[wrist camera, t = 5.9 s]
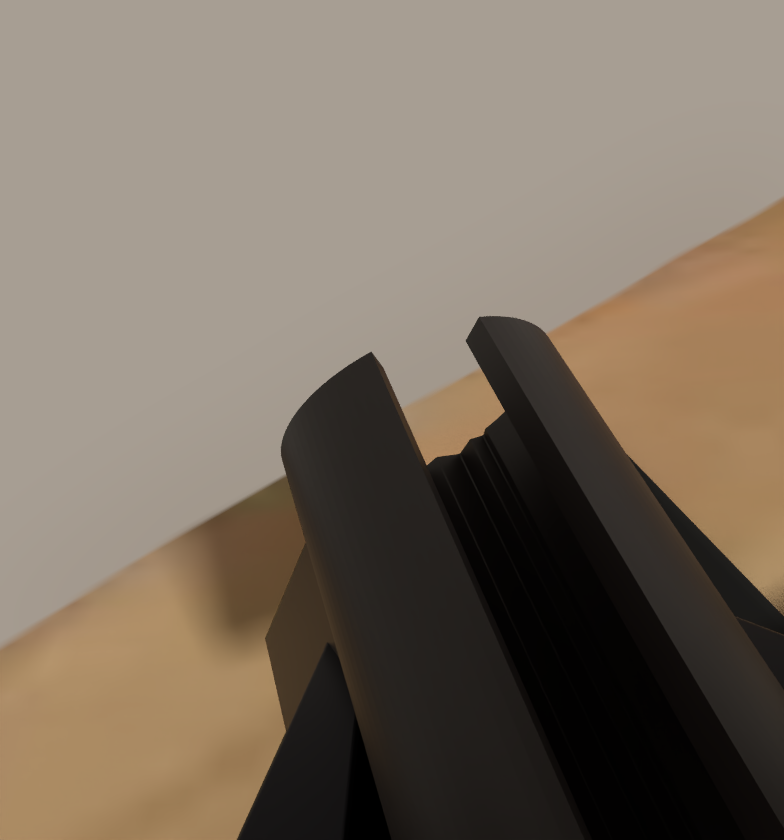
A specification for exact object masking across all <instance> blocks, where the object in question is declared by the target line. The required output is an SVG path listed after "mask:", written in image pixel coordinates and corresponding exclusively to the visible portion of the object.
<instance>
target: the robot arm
mask: <svg viewBox="0 0 784 840" xmlns="http://www.w3.org/2000/svg"><path fill="white" fill-rule="evenodd" d="M735 618H736V619H737V621H738V622H739V624H740V625H741V627H742V628H743V630H744V631H745V633H746V634H747V636H748V637H749V639H750V640H751V642H752V643H753V645H754V646H755V648H756V649H757V651H758V652H759V654H760V655H761V656H762V658H763V659H764V661H765V662H766V664H767V665H768V667H769V668H770V670H771V671H772V673H773V674H774V676H775V677H776V679H777V680H778V682H779V683H780V685H781V686H782V688H783V689H784V635H783V634H780V633H777V632H775V631H772V630H770V629H767V628H764V627H762V626H759V625H756V624H754V623H751V622H749V621H746V620H743V619H741V618H738V617H735ZM237 840H391V836H390V833H389V829H388V826H387V822H386V819H385V815H384V812H383V808H382V805H381V801H380V798H379V794H378V791H377V787H376V784H375V780H374V777H373V774H372V770H371V767H370V763H369V760H368V756H367V753H366V749H365V746H364V742H363V739H362V735H361V732H360V728H359V725H358V721H357V718H356V714H355V711H354V708H353V704H352V701H351V697H350V694H349V690H348V687H347V683H346V680H345V676H344V673H343V669H342V666H341V662H340V659H339V657H338V656H337V654H336V653H335V651H334V650H333V649H332V647H331V646H330V645H329V643H328V642H327V643H326V645H325V647H324V649H323V652H322V654H321V656H320V658H319V660H318V663H317V665H316V667H315V669H314V671H313V674H312V676H311V678H310V680H309V682H308V685H307V687H306V689H305V691H304V693H303V696H302V698H301V700H300V702H299V704H298V707H297V709H296V711H295V713H294V715H293V717H292V720H291V722H290V724H289V726H288V728H287V731H286V733H285V735H284V737H283V739H282V742H281V744H280V746H279V748H278V750H277V753H276V755H275V757H274V759H273V761H272V764H271V766H270V768H269V770H268V772H267V775H266V777H265V779H264V781H263V783H262V786H261V788H260V790H259V792H258V794H257V797H256V799H255V801H254V803H253V805H252V807H251V810H250V812H249V814H248V816H247V818H246V821H245V823H244V825H243V827H242V829H241V832H240V834H239V836H238V838H237Z"/></svg>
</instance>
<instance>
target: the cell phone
mask: <svg viewBox="0 0 784 840" xmlns="http://www.w3.org/2000/svg"><path fill="white" fill-rule="evenodd" d="M627 456H628V455H627ZM628 457H629V456H628ZM629 459H630V460H631V462H632V463H633V465H634V466H635V468H636V469H637V471H638V472H639V474H640V475H641V477H642V478H643V480H644V481H645V483H646V484H647V486H648V487H649V489H650V490H651V492H652V493H653V495H654V496H655V498H656V499H657V501H658V502H659V504H660V505H661V507H662V508H663V510H664V511H665V513H666V514H667V516H668V517H669V519H670V520H671V522H672V523H673V525H674V526H675V528H676V529H677V531H678V532H679V534H680V535H681V537H682V538H683V540H684V541H685V543H686V544H687V546H688V547H689V549H690V550H691V552H692V553H693V555H694V556H695V558H696V559H697V561H698V562H699V564H700V565H701V567H702V568H703V570H704V571H705V573H706V574H707V576H708V577H709V579H710V580H711V582H712V583H713V585H714V586H715V588H716V589H717V591H718V592H719V594H720V595H721V597H722V598H723V600H724V601H725V603H726V604H727V606H728V607H729V609H730V610H731V612H732V613H733V615H734V616H735V617H738V618H741V619H743V620H746V621H749V622H751V623H754V624H756V625H759V626H762V627H764V628H767V629H770V630H772V631H775V632H777V633H780V634H783V635H784V616H783V615H782V614H781V613H780V612H779V611H778V610H777V609H776V608H775V607H774V606H773V605H772V604H771V603H770V602H769V601H768V600H767V599H766V598H765V597H764V596H763V595H762V594H761V592H760V591H759V590H758V589H757V588H756V587H755V586H754V585H753V584H752V583H751V582H750V581H749V580H748V579H747V578H746V577H745V576H744V575H743V574H742V573H741V572H740V571H739V570H738V569H737V568H736V567H735V566H734V565H733V564H732V563H731V561H730V560H729V559H728V558H727V557H726V556H725V555H724V554H723V553H722V552H721V551H720V550H719V549H718V548H717V547H716V546H715V545H714V544H713V543H712V542H711V541H710V540H709V539H708V538H707V537H706V536H705V535H704V534H703V533H702V532H701V530H700V529H699V528H698V527H697V526H696V525H695V524H694V523H693V522H692V521H691V520H690V519H689V518H688V517H687V516H686V515H685V514H684V513H683V512H682V511H681V510H680V509H679V508H678V507H677V506H676V505H675V504H674V503H673V502H672V501H671V500H670V498H669V497H668V496H667V495H666V494H665V493H664V492H663V491H662V490H661V489H660V488H659V487H658V486H657V485H656V484H655V483H654V482H653V481H652V480H651V479H650V478H649V477H648V476H647V475H646V474H645V473H644V472H643V471H642V470H641V469H640V467H639V466H638V465H637V464H636V463H635V462H634V461H633V460H632V459H631V458H630V457H629Z"/></svg>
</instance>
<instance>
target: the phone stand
mask: <svg viewBox="0 0 784 840" xmlns="http://www.w3.org/2000/svg"><path fill="white" fill-rule="evenodd" d="M466 342H467V344H468V346H469V348H470V349H471V351H472V353H473V355H474V357H475V358H476V360H477V362H478V364H479V366H480V367H481V369H482V371H483V373H484V374H485V376H486V378H487V380H488V382H489V383H490V385H491V387H492V389H493V390H494V392H495V394H496V396H497V398H498V399H499V401H500V403H501V405H502V407H503V408H504V410H505V412H504V413H503V414H502V415H501V416H500V417H499V418H498V419H497V420H495V421H494V422H493V423H492V424H491V425H489V426H488V427H487V428H486V429H485V432H484V435H483V436H480V437H476V438H473V439H470V440H469V442H468V443H467V445H466V446H465V447H464V449H463V450H462V452H461V453H460V454H457V455H449V456H442V457H437V458H435V459H434V460H433V461H432V462H431V463H429V464H428V465H426V463H425V461H424V459H423V456H422V454H421V452H420V450H419V447H418V445H417V443H416V441H415V438H414V436H413V434H412V431H411V429H410V427H409V425H408V422H407V420H406V418H405V416H404V413H403V411H402V409H401V407H400V404H399V402H398V400H397V398H396V396H395V393H394V391H393V389H392V386H391V384H390V382H389V380H388V377H387V375H386V373H385V371H384V368H383V367H382V365H381V364H380V363H379V361H378V360H377V359H376V357H375V356H374V355H373V353H372V352H370V353H368V354H366V355H365V356H363V357H361V358H360V359H358V360H356V361H355V362H353V363H352V364H350V365H348V366H347V367H346V368H344V369H343V370H341V371H340V372H338V373H337V374H336V375H335V376H333V377H332V378H330V379H329V380H328V381H327V382H326V383H324V384H323V385H322V386H321V387H320V388H319V389H318V390H316V391H315V392H314V393H313V394H312V395H311V396H310V397H309V398H308V399H307V401H306V402H305V403H304V404H303V405H302V406H301V407H300V409H299V410H298V411H297V413H296V414H295V415H294V417H293V418H292V420H291V422H290V423H289V425H288V427H287V429H286V431H285V434H284V436H283V440H282V446H281V456H282V461H283V464H284V468H285V471H286V475H287V478H288V482H289V485H290V489H291V492H292V496H293V499H294V503H295V506H296V510H297V513H298V516H299V520H300V523H301V527H302V530H303V534H304V537H305V541H306V543H305V545H304V548H303V550H302V553H301V555H300V557H299V560H298V562H297V564H296V567H295V569H294V571H293V574H292V576H291V579H290V581H289V583H288V586H287V588H286V590H285V593H284V595H283V598H282V600H281V602H280V605H279V607H278V609H277V612H276V614H275V617H274V619H273V621H272V624H271V626H270V628H269V631H268V633H267V635H266V638H265V640H266V644H267V648H268V653H269V657H270V662H271V666H272V671H273V675H274V680H275V684H276V688H277V693H278V697H279V702H280V706H281V711H282V715H283V719H284V724H285V728H286V731H287V728H288V726H289V724H290V722H291V720H292V717H293V715H294V713H295V711H296V709H297V707H298V704H299V702H300V700H301V698H302V696H303V693H304V691H305V689H306V687H307V685H308V682H309V680H310V678H311V676H312V674H313V671H314V669H315V667H316V665H317V663H318V660H319V658H320V656H321V654H322V652H323V649H324V647H325V645H326V643H327V642H328V643H329V645H330V646H331V647H332V649H333V650H334V651H335V653H336V654H337V656H338V657H339V659H340V662H341V666H342V669H343V673H344V676H345V680H346V683H347V687H348V690H349V694H350V697H351V701H352V704H353V708H354V711H355V714H356V718H357V721H358V725H359V728H360V732H361V735H362V739H363V742H364V746H365V749H366V753H367V756H368V760H369V763H370V767H371V770H372V774H373V777H374V780H375V784H376V787H377V791H378V794H379V798H380V801H381V805H382V808H383V812H384V815H385V819H386V822H387V826H388V829H389V833H390V836H391V840H784V689H783V688H782V686H781V685H780V683H779V682H778V680H777V679H776V677H775V676H774V674H773V673H772V671H771V670H770V668H769V667H768V665H767V664H766V662H765V661H764V659H763V658H762V656H761V655H760V654H759V652H758V651H757V649H756V648H755V646H754V645H753V643H752V642H751V640H750V639H749V637H748V636H747V634H746V633H745V631H744V630H743V628H742V627H741V625H740V624H739V622H738V621H737V619H736V618H735V616H734V615H733V613H732V612H731V610H730V609H729V607H728V606H727V604H726V603H725V601H724V600H723V598H722V597H721V595H720V594H719V592H718V591H717V589H716V588H715V586H714V585H713V583H712V582H711V580H710V579H709V577H708V576H707V574H706V573H705V571H704V570H703V568H702V567H701V565H700V564H699V562H698V561H697V559H696V558H695V556H694V555H693V553H692V552H691V550H690V549H689V547H688V546H687V544H686V543H685V541H684V540H683V538H682V537H681V535H680V534H679V532H678V531H677V529H676V528H675V526H674V525H673V523H672V522H671V520H670V519H669V517H668V516H667V514H666V513H665V511H664V510H663V508H662V507H661V505H660V504H659V502H658V501H657V499H656V498H655V496H654V495H653V493H652V492H651V490H650V489H649V487H648V486H647V484H646V483H645V481H644V480H643V478H642V477H641V475H640V474H639V472H638V471H637V469H636V468H635V466H634V465H633V463H632V462H631V460H630V459H629V457H628V456H627V454H626V453H625V451H624V450H623V448H622V447H621V445H620V444H619V442H618V441H617V439H616V438H615V436H614V435H613V433H612V432H611V430H610V429H609V427H608V426H607V424H606V423H605V421H604V420H603V418H602V417H601V415H600V414H599V412H598V411H597V409H596V408H595V406H594V405H593V403H592V402H591V400H590V399H589V397H588V396H587V394H586V393H585V391H584V390H583V388H582V387H581V385H580V384H579V382H578V381H577V379H576V378H575V376H574V375H573V373H572V372H571V370H570V369H569V367H568V366H567V364H566V363H565V361H564V360H563V358H562V357H561V355H560V354H559V352H558V351H557V349H556V348H555V346H554V345H553V343H552V342H551V340H550V339H549V337H548V336H547V335H546V333H545V332H544V331H543V330H541V329H540V328H539V327H537V326H536V325H534V324H532V323H530V322H527V321H524V320H521V319H517V318H511V317H500V316H486V317H479V318H478V320H477V322H476V323H475V325H474V327H473V329H472V331H471V332H470V334H469V336H468V338H467V339H466Z"/></svg>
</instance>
